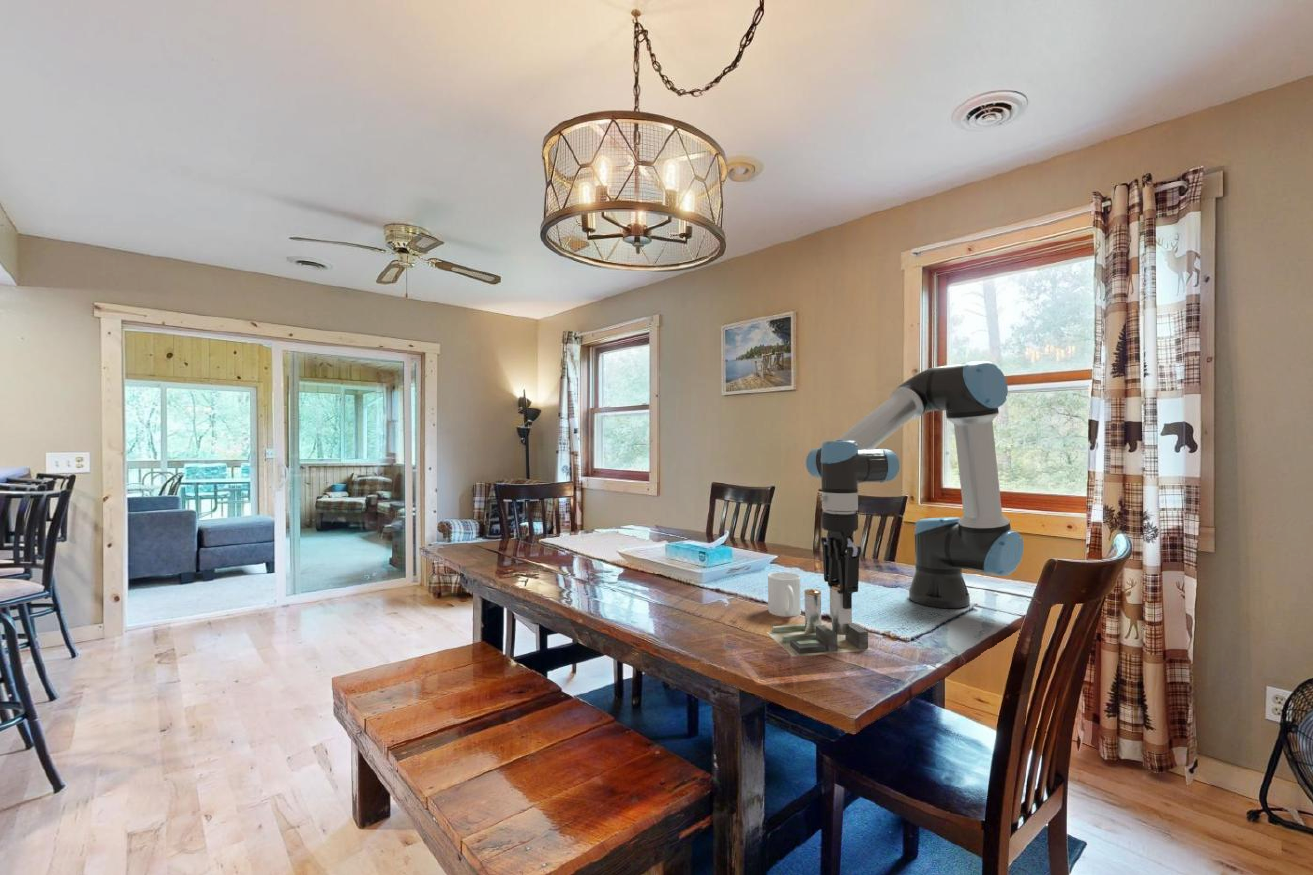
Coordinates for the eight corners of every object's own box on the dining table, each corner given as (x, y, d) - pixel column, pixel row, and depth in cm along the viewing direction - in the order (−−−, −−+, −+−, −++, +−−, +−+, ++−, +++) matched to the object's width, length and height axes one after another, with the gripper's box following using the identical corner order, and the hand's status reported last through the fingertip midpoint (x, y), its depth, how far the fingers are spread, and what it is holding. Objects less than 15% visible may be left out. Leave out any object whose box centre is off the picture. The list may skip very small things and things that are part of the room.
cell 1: (817, 631, 131) (816, 587, 131) (824, 636, 128) (823, 591, 128) (802, 632, 131) (801, 588, 131) (809, 637, 127) (808, 592, 127)
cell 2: (844, 628, 124) (844, 582, 124) (852, 634, 121) (852, 586, 121) (829, 629, 124) (828, 583, 124) (836, 635, 120) (836, 587, 120)
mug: (809, 625, 139) (808, 583, 139) (775, 625, 139) (774, 583, 139) (796, 610, 151) (795, 571, 151) (765, 610, 150) (765, 572, 151)
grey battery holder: (838, 630, 134) (837, 611, 134) (873, 654, 119) (872, 633, 119) (766, 636, 131) (765, 617, 131) (792, 661, 116) (792, 639, 116)
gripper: (807, 507, 130) (808, 610, 130) (842, 517, 114) (843, 633, 114) (837, 506, 131) (838, 608, 131) (876, 515, 115) (877, 631, 115)
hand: (840, 619), depth 122 cm, fingers closed on cell 2, 3 cm apart
